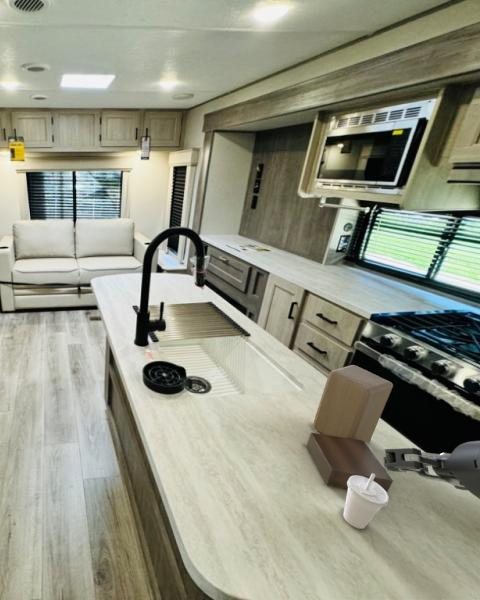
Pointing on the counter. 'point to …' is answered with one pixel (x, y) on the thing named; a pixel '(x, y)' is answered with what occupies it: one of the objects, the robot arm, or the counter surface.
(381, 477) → the walnut block
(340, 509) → the counter surface
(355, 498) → the smoothie
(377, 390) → the wooden block
